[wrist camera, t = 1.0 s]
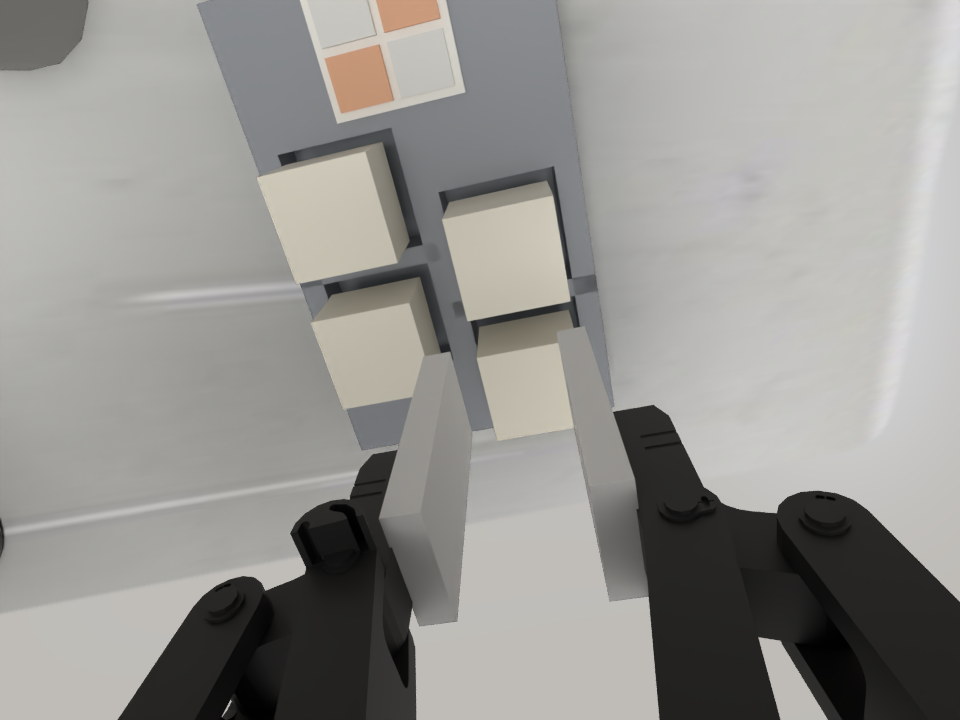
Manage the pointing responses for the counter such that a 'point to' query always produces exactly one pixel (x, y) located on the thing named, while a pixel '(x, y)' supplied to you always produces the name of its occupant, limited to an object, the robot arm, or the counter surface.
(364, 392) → the button
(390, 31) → the board
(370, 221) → the button
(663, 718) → the robot arm
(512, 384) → the button
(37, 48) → the cup
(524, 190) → the button
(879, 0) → the counter surface
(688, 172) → the counter surface
